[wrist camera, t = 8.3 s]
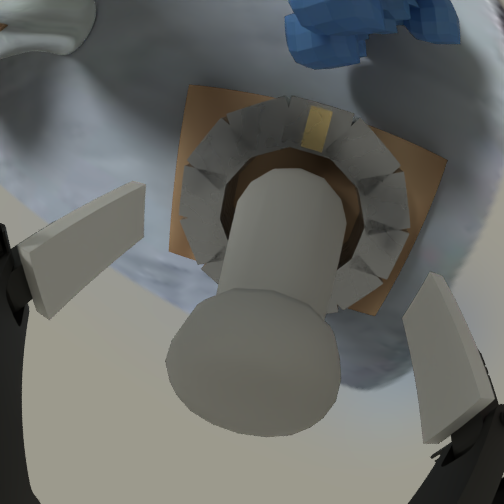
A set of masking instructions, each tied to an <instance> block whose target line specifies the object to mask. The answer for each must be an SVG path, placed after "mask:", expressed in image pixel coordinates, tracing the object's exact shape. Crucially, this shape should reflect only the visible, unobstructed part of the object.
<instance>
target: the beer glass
mask: <svg viewBox="0 0 504 504" xmlns="http://www.w3.org/2000/svg"><path fill="white" fill-rule="evenodd" d="M95 18H96V3H95V1H94V0H0V60H1V59H4V58H7V57H10V56H14V55H17V54H21V53H26V52H33V51H43V52H48V53H53V54H57V55H68V54H70V53H72V52H74V51H75V50H76V49H78V48H79V47H80V46H81V44H82V43H83V42H84V41H85V39H86V38H87V36H88V35H89V33H90V31H91V29H92V27H93V24H94V21H95Z"/></svg>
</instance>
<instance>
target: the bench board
mask: <svg viewBox="0 0 504 504" xmlns="http://www.w3.org/2000/svg"><path fill="white" fill-rule="evenodd" d="M271 99H275V98H273V97H268V96H263V95H258V94H253V93H248V92H242V91H236V90H230V89H223V88H216V87H208V86H199V85H189V88H188V93H187V98H186V104H185V110H184V116H183V122H182V128H181V135H180V142H179V149H178V157H177V165H176V173H175V182H174V191H173V202H172V213H171V225H170V240H169V252H172V253H175V254H178V255H181V256H184V257H187V258H190V259H193V260H196V259H195V257H194V254H193V252H192V250H191V247H190V245H189V242H188V240H187V238H186V235H185V233H184V230H183V228H182V225H181V223H180V220H181V219H182V218H183V216H180V215H179V207H180V197H181V189H182V180H183V172H184V165H187V164H189V162H188V161H187V159H188V158H189V156H190V155H191V154H192V152H193V151H194V150H195V149H196V147H197V146H198V145H199V144H200V142H201V141H202V140H203V139H204V137H205V136H206V135H207V134H208V132H209V131H210V130H211V129H212V128H213V126H214V125H215V124H216V123H217V122H218V120H219V119H220V118H223V117H227V115H226V114H228V113H230V112H233V111H236V110H239V109H242V108H245V107H248V106H251V105H255V104H258V103H261V102H264V101H268V100H271ZM368 126H369V125H368ZM369 128H370V129H371V130H372V131H373V132H374V133H375V134H376V136H377V137H378V138H379V139H380V140H381V141H382V143H383V144H384V145H385V146H386V147H387V148H388V150H389V151H390V152H391V153H392V155H393V156H394V157H395V158H396V160H397V161H398V162H399V163H400V165H401V166H400V167H399V168H400V169H401V170H402V171H403V172H404V176H405V183H406V190H407V198H408V207H409V216H410V228H407V231H408V232H409V236H408V238H407V240H406V242H405V244H404V247H403V249H402V251H401V253H400V255H399V257H398V259H397V261H396V263H395V265H394V267H393V269H392V271H391V273H390V275H389V277H388V279H384V278H382V281H383V284H382V285H381V286H379V287H378V288H376V289H375V290H373V291H372V292H370V293H369V294H368V295H366V296H365V297H363V298H362V299H360V300H358V301H357V302H355V303H354V304H352V305H351V306H349V307H348V309H352V310H355V311H359V312H362V313H366V314H369V315H372V316H375V315H376V313H377V312H378V310H379V308H380V307H381V305H382V303H383V302H384V300H385V298H386V296H387V295H388V293H389V291H390V289H391V288H392V286H393V284H394V282H395V280H396V278H397V277H398V275H399V273H400V271H401V269H402V267H403V265H404V263H405V261H406V259H407V257H408V255H409V253H410V251H411V249H412V247H413V245H414V243H415V241H416V239H417V236H418V234H419V232H420V230H421V228H422V225H423V223H424V221H425V218H426V216H427V214H428V211H429V209H430V207H431V204H432V202H433V199H434V197H435V194H436V191H437V189H438V186H439V183H440V181H441V178H442V175H443V172H444V169H445V167H446V164H447V161H448V160H446V159H444V158H442V157H440V156H438V155H436V154H434V153H432V152H430V151H428V150H426V149H424V148H422V147H420V146H418V145H416V144H413V143H411V142H409V141H407V140H404V139H402V138H400V137H397V136H395V135H392V134H390V133H387V132H385V131H382V130H380V129H377V128H375V127H372V126H369ZM282 168H301V169H303V170H306V171H308V172H311V173H313V174H315V175H318V176H320V177H322V178H324V179H325V180H326V181H327V183H328V184H329V185H330V186H331V188H332V189H333V190H334V191H335V192H336V194H337V195H338V196H339V197H340V199H341V201H342V205H343V209H344V213H345V218H346V222H347V224H346V229H345V234H344V239H343V244H344V243H345V242H346V241H348V240H349V237H350V235H351V232H352V230H353V227H354V225H355V222H356V219H357V217H358V214H359V211H360V210H359V204H358V199H357V194H356V189H355V185H354V184H353V183H352V182H351V181H350V180H349V179H348V177H347V176H346V175H345V174H344V173H343V172H342V171H341V170H340V169H339V168H338V167H337V165H336V164H335V163H334V162H333V161H332V160H331V159H329V158H325V157H322V156H319V155H316V154H312V153H309V152H306V151H302V150H299V149H295V148H291V147H288V148H284V149H280V150H276V151H273V152H269V153H265V154H261V155H258V156H256V157H255V158H254V159H253V160H252V161H251V162H250V163H249V165H248V166H247V167H246V168H245V169H244V170H243V171H242V172H241V173H240V174H239V178H238V183H237V188H236V193H235V198H234V203H233V205H234V208H235V210H236V205H237V201H238V200H239V198H240V197H241V195H242V194H243V193H244V191H245V190H246V188H247V187H248V185H249V184H250V183H251V182H252V181H253V180H255V179H257V178H258V177H260V176H262V175H264V174H265V173H267V172H269V171H271V170H272V169H282ZM343 244H342V245H343Z"/></svg>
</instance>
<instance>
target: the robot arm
mask: <svg viewBox="0 0 504 504" xmlns="http://www.w3.org/2000/svg"><path fill="white" fill-rule="evenodd" d="M145 189H146V184H143V183H139V182H135V181H132V182H129V183H127V184H125V185H123V186H121V187H119V188H117V189H115V190H113V191H111V192H109V193H107V194H105V195H103V196H101V197H99V198H97V199H95V200H93V201H91V202H89V203H87V204H85V205H83V206H82V207H80V208H78V209H76V210H74V211H72V212H71V213H69V214H67V215H65V216H64V217H62V218H60V219H58V220H57V221H54V222H53V223H51V224H49V225H48V226H46V227H45V228H43V229H41V230H40V231H38V232H36V233H35V234H33V235H31V236H30V237H28V238H27V239H25V240H24V241H22V242H21V243H19V244H18V245H16V246H15V247H13V248H12V249H11V248H10V244H9V240H8V235H7V231H6V227H5V225H4V224H2V223H0V504H40V502H39V500H38V499H37V498H36V496H35V495H34V494H33V492H32V490H31V486H30V482H29V477H28V471H27V465H26V458H25V449H24V439H23V426H22V370H23V356H24V345H25V336H26V329H27V322H28V316H29V306H28V302H29V301H30V300H32V299H33V302H34V305H35V307H36V310H37V312H39V313H40V314H41V315H43V316H44V317H46V318H47V319H48V320H50V319H51V318H52V317H53V316H54V315H55V314H56V313H57V312H59V311H60V309H62V307H64V306H65V305H66V304H67V303H68V302H69V301H70V300H71V299H72V298H73V297H74V296H76V295H77V294H78V293H79V292H80V291H81V290H82V289H83V288H84V287H85V286H86V285H88V284H89V283H90V282H91V281H92V280H93V279H94V278H96V277H97V276H98V275H99V274H100V273H101V272H102V271H104V270H105V269H106V268H107V267H108V266H109V265H111V264H112V263H113V262H114V261H115V260H116V259H118V258H119V257H120V256H121V255H122V254H124V253H125V252H126V251H127V250H128V249H130V248H131V247H132V246H133V245H135V244H136V243H137V242H138V241H140V240H141V239H142V238H143V237H144V209H145ZM402 320H403V324H404V328H405V333H406V337H407V341H408V346H409V350H410V355H411V360H412V365H413V371H414V376H415V382H416V388H417V394H418V401H419V408H420V416H421V426H422V436H423V443H424V444H431V443H432V444H439V443H440V442H442V441H443V440H445V439H446V438H447V437H449V436H450V435H451V440H452V442H451V443H449V444H448V445H446V446H445V447H443V448H442V449H440V450H439V451H437V452H436V453H434V454H433V455H432V456H431V458H434V457H436V456H437V455H440V457H439V458H438V459H437V460H435V462H436V463H435V465H434V467H433V469H432V470H431V471H430V473H429V475H428V476H427V478H426V479H425V481H424V482H423V483H422V485H421V486H420V488H419V489H418V491H417V492H416V494H415V495H414V496H413V497H412V499H411V500H410V502H409V503H408V504H504V477H503V478H502V475H503V473H504V404H500V405H499V404H498V401H497V397H496V394H495V391H494V388H493V385H492V382H491V379H490V376H489V375H488V370H487V368H486V367H485V362H484V360H483V357H482V354H481V353H480V351H479V350H478V348H477V346H476V344H475V341H474V339H473V337H472V335H471V332H470V330H469V328H468V325H467V323H466V321H465V319H464V317H463V315H462V313H461V310H460V308H459V306H458V305H457V302H456V300H455V298H454V296H453V294H452V293H451V291H450V289H449V287H448V285H447V283H446V281H445V280H444V278H443V276H441V275H438V274H436V273H433V272H429V274H428V276H427V278H426V279H425V281H424V283H423V285H422V286H421V288H420V290H419V292H418V293H417V295H416V297H415V298H414V300H413V301H412V303H411V305H410V306H409V308H408V309H407V311H406V313H405V314H404V316H403V317H402Z"/></svg>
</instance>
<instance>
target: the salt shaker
mask: <svg viewBox="0 0 504 504" xmlns="http://www.w3.org/2000/svg"><path fill="white" fill-rule="evenodd" d="M346 224H347V222H346V218H345V213H344V209H343V205H342V201H341V199H340V197H339V196H338V195H337V194H336V192H335V191H334V190H333V189H332V188H331V186H330V185H329V184H328V183H327V181H326V180H325V179H324V178H322V177H320V176H318V175H315V174H313V173H311V172H308V171H306V170H303V169H301V168H282V169H272V170H271V171H269V172H267V173H265V174H264V175H262V176H260V177H258V178H257V179H255V180H253V181H252V182H251V183H250V184H249V185H248V187H247V188H246V190H245V191H244V193H243V194H242V195H241V197H240V198H239V200H238V201H237V205H236V210H235V214H234V218H233V222H232V227H231V231H230V235H229V240H228V244H227V249H226V253H225V257H224V262H223V266H222V271H221V276H220V280H219V285H218V289H217V294H216V295H215V296H213V297H210V298H208V299H205V300H204V301H202V302H201V303H199V304H197V306H196V307H195V309H194V310H193V311H192V313H191V314H190V315H189V317H188V318H187V320H186V321H185V323H184V324H183V325H182V327H181V328H180V329H179V331H178V332H177V334H176V335H175V336H174V338H173V339H172V341H171V344H170V348H169V351H168V354H167V358H166V360H165V362H166V367H167V371H168V376H169V380H170V383H171V385H172V387H173V389H174V391H175V393H176V395H177V396H178V397H179V398H180V400H181V401H182V402H183V403H184V404H185V405H186V406H187V407H188V409H189V410H190V411H192V412H193V413H195V414H196V415H198V416H200V417H201V418H203V419H205V420H206V421H208V422H210V423H211V424H213V425H216V426H219V427H222V428H224V429H227V430H230V431H233V432H236V433H240V434H246V435H254V436H261V437H274V436H288V435H293V434H295V433H298V432H300V431H303V430H305V429H307V428H310V427H311V426H313V425H314V424H316V423H317V422H318V421H320V420H321V419H322V418H324V416H325V415H326V414H327V412H328V411H329V410H330V408H331V407H332V405H333V404H334V403H335V402H336V399H337V394H338V390H339V386H340V382H341V369H340V358H339V353H338V348H337V344H336V339H335V335H334V333H333V331H332V329H331V327H330V326H329V325H328V324H327V323H326V322H325V321H324V320H325V316H326V313H327V309H328V305H329V301H330V297H331V293H332V289H333V285H334V281H335V276H336V272H337V268H338V263H339V259H340V254H341V249H342V244H343V239H344V234H345V229H346Z"/></svg>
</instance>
